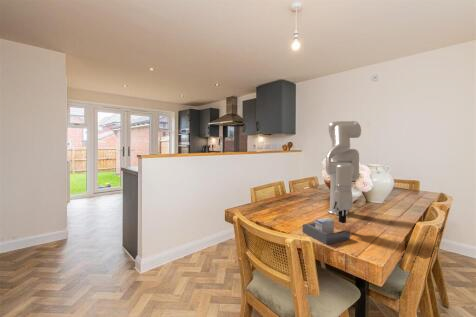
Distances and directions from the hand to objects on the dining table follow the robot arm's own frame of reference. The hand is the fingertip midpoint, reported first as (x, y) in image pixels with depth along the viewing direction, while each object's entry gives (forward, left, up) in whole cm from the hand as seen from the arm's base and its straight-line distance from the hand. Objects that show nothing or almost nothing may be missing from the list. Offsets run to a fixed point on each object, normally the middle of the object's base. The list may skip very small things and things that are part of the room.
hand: (342, 222), depth 118 cm
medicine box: (+15, +2, -5) cm, 15 cm away
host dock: (+13, +1, -5) cm, 14 cm away
